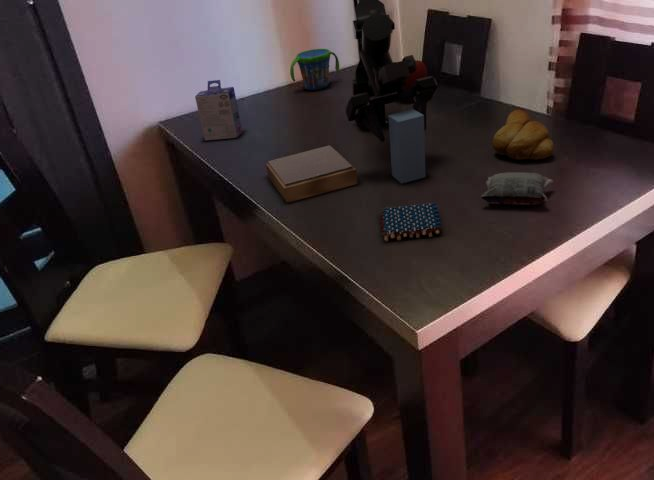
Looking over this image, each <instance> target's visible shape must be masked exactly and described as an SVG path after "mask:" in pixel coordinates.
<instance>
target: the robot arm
mask: <svg viewBox="0 0 654 480" xmlns="http://www.w3.org/2000/svg"><path fill="white" fill-rule="evenodd" d="M352 6H353V16H354V19H353V20H352V32H353V33H352V34H353V38H354V40H356V42H357V43H356V44H357V52H358V53H357V54H358V63H357V64H356V68H355V70H354V73H353V75H354V76H353V77H354V79H351V80H352V81H351V82H352V84H351V85H352V95H350V97H349V99H348V102H347V105H346V107H345V108H346V109H345V115H346V117H347V121H348V122H355V124H356V125H358V126H359V127H360V128H361V129H363V130H364V131H368V130H369V131H370V132H371V133H372V134H373V135H374V136H375V137H376V138H377V139H379V140H380V141H381V142H385V139H386V137H385V134H384V131H383V128H382V127H384V126H387V125H388V126H389V121H388V120H387V119H386V105H388V104H393V103H397V102H399V101H400V102H401V101H404V99H408V98H410V99H411V101H410V102H411V103H412V104H413V105H412V109H414V110H416V111H417V112H419V113H421V114H422V115H424V132H426V130H427V107H428V102H430V101H431V100H432V98H433V96H434V94H435V92H436V91H437V89H438V82H437V80H436V78H435V77H433V76H432V75H429V76H428V75H427V77H424V78H420V79H416V80H415V82H414V84H413V86H412V88H408V89H404V90H403V88H402V86H405V84H406V80H405V79H406V78H407V77H408V78H409V77H410V74H411V73H414V72H415V71H416V70H417V66H416V61H415V60H416V58H415V57H414V55H413V54H409V55H406V56H404V57H403V58H402V59H401V60H400V61H393V58H392V55H391V53H390V48H391V42H392V34H393V31H394V30H396V27H395V22H394V21H393V19H392V18H391V17H390V14H387V12H386V11H387V10H386V7H385V3H384V2H382V1H381V0H352Z"/></svg>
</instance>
